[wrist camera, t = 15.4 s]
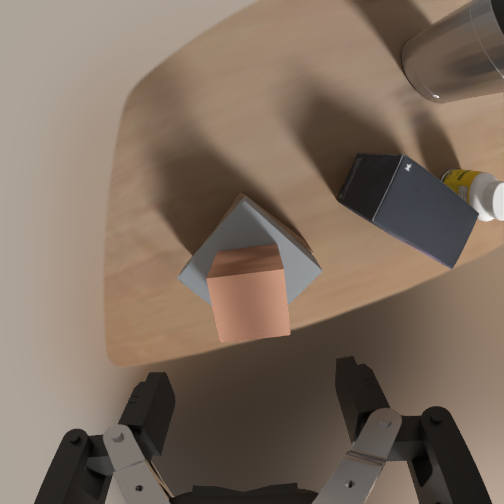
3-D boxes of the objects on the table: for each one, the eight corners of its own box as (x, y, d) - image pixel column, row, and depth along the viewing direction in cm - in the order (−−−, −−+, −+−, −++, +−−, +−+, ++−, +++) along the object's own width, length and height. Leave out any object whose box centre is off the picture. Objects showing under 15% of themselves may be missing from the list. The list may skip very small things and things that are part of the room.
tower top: (245, 195, 27) (244, 200, 23) (313, 256, 29) (322, 270, 25) (186, 263, 29) (177, 278, 25) (253, 316, 31) (253, 337, 27)
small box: (333, 203, 31) (368, 223, 21) (357, 151, 29) (402, 148, 19) (404, 242, 32) (453, 273, 22) (427, 195, 30) (482, 211, 20)
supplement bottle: (465, 167, 29) (517, 174, 19) (467, 207, 30) (517, 224, 21) (435, 169, 29) (487, 176, 20) (438, 212, 31) (488, 231, 21)
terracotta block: (277, 243, 24) (283, 268, 18) (283, 297, 26) (290, 334, 20) (217, 251, 24) (206, 278, 19) (227, 304, 26) (220, 342, 20)
